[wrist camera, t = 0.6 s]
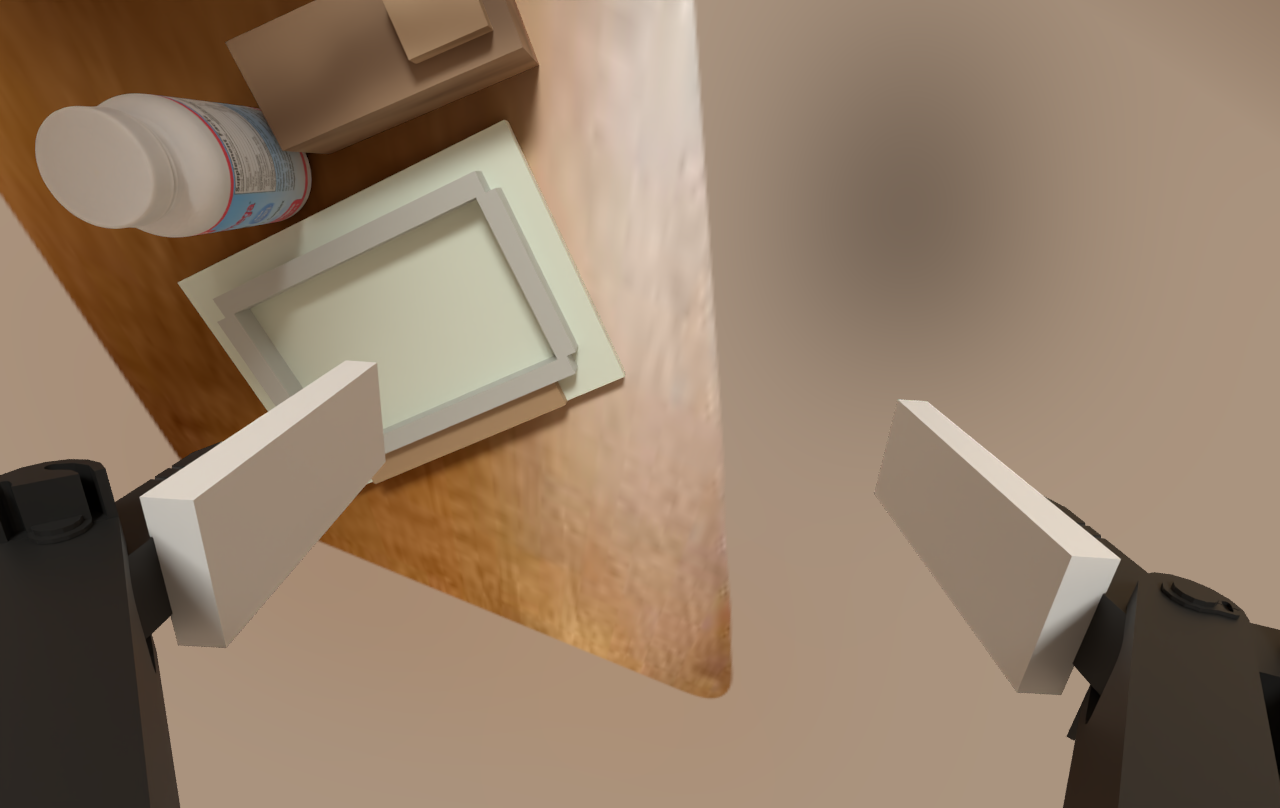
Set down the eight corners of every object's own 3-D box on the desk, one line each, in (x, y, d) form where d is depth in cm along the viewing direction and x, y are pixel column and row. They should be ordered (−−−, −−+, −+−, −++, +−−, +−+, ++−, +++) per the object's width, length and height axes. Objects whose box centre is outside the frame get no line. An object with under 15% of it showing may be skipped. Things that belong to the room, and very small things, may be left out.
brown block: (284, 61, 33) (210, 37, 27) (501, -37, 31) (470, -84, 26) (331, 154, 35) (270, 149, 29) (539, 65, 33) (518, 42, 27)
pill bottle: (231, 226, 36) (57, 255, 25) (193, 113, 33) (-17, 93, 23) (330, 216, 35) (193, 241, 25) (297, 100, 33) (132, 75, 23)
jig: (189, 280, 37) (158, 286, 34) (508, 121, 34) (498, 117, 31) (336, 492, 42) (318, 510, 40) (625, 371, 39) (623, 384, 36)
